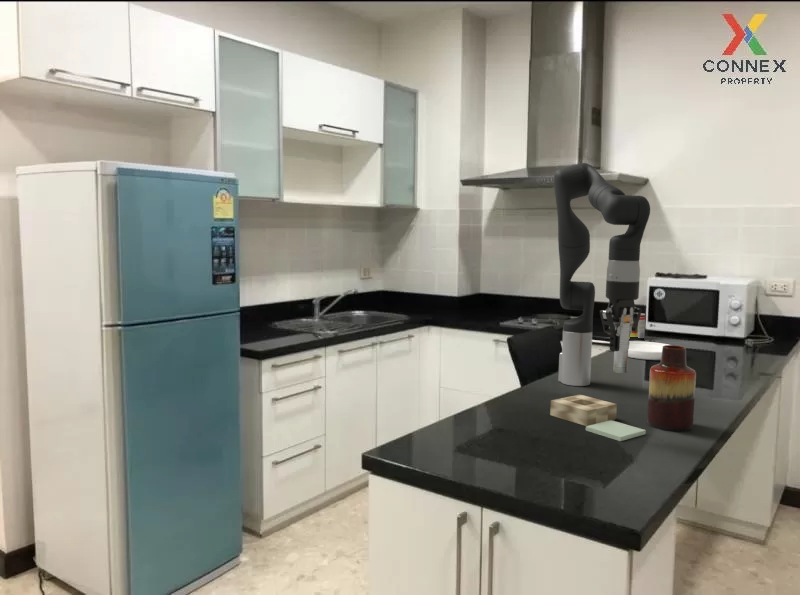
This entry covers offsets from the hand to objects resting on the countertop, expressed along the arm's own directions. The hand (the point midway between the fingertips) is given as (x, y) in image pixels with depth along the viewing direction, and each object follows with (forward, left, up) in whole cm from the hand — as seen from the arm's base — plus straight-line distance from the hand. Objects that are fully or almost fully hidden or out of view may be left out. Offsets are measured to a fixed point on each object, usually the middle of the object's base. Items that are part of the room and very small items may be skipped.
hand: (619, 349), depth 156 cm
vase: (+4, +17, -21) cm, 27 cm away
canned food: (-85, +132, -21) cm, 159 cm away
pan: (-63, +96, -21) cm, 117 cm away
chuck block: (-13, +4, -21) cm, 25 cm away
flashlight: (+1, 0, -5) cm, 5 cm away
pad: (0, 0, -21) cm, 21 cm away
